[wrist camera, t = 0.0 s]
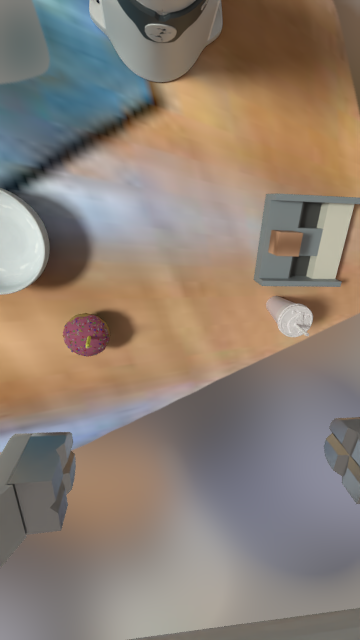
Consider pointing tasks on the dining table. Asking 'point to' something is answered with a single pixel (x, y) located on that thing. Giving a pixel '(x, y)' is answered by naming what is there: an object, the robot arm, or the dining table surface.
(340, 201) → the board
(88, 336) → the cupcake
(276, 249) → the terracotta block
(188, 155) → the dining table surface
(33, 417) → the dining table surface
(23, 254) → the cereal bowl
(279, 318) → the smoothie
